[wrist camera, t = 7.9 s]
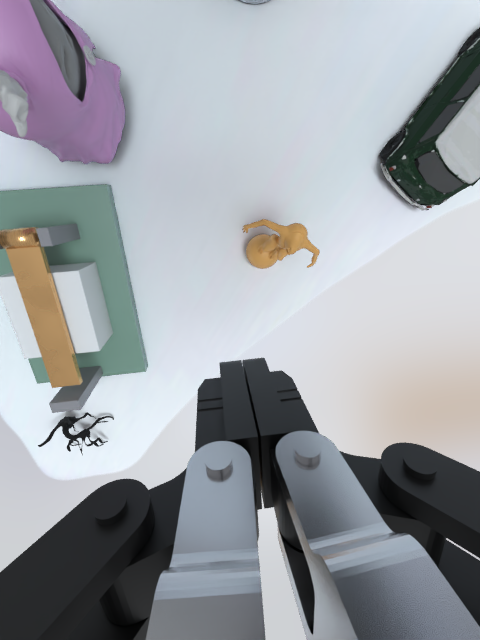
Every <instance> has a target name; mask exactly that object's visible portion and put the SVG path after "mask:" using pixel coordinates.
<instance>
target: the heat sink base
mask: <svg viewBox="0 0 480 640" xmlns="http://www.w3.org/2000/svg"><path fill="white" fill-rule="evenodd" d="M30 227H38V228H37V229H36V231H37V234H38V237H39V241H40V244H41V247H44V250H45V254H46V257H47V260H48V264H49V267H50V271H51V274H52V278H53V281H54V284H55V288H56V291H57V295H58V298H59V301H60V305H61V308H62V312H63V315H64V319H65V322H66V325H67V329H68V332H69V336H70V339H71V343H72V346H73V349H74V353H75V356H76V360H77V363H78V367H79V370H80V373H81V377H82V380H83V382H82V383H81V384H80V385H73V386H64V387H62V388H61V389H60V391H59V392H58V393H57V395H56V396H55V397H54V398H53V400H52V401H51V402H50V403H49V405H50V407H51V410H52V413H55V412H64V411H72V410H81V409H82V407H83V405H84V404H85V402H86V401H87V399H88V397H89V396H90V394H91V392H92V391H93V389H94V388H95V386H96V384H97V383H98V381H99V379H100V378H101V376H110V375H119V374H128V373H137V372H146V369H147V367H148V364H147V360H146V355H145V350H144V345H143V340H142V335H141V330H140V326H139V321H138V316H137V311H136V306H135V301H134V297H133V292H132V287H131V282H130V277H129V272H128V267H127V263H126V258H125V253H124V248H123V243H122V238H121V234H120V229H119V224H118V219H117V214H116V209H115V204H114V200H113V195H112V190H111V185H107V184H103V185H88V186H73V187H58V188H42V189H27V190H12V191H0V230H4V229H17V228H30ZM0 295H1V298H2V300H3V303H4V306H5V308H6V311H7V314H8V316H9V319H10V322H11V324H12V327H13V330H14V332H15V335H16V338H17V340H18V343H19V346H20V348H21V351H22V354H23V356H24V359H28V360H29V362H30V365H31V368H32V370H33V373H34V376H35V378H36V381H37V383H46V382H50V380H49V377H48V374H47V371H46V368H45V365H44V362H43V359H42V356H41V353H40V350H39V347H38V344H37V341H36V338H35V335H34V332H33V329H32V326H31V323H30V320H29V317H28V314H27V311H26V308H25V305H24V302H23V299H22V296H21V293H20V290H19V288H18V285H17V282H16V279H15V276H14V273H13V270H12V267H11V264H10V261H9V258H8V255H7V252H6V249H4V248H3V247H2V246H1V245H0Z"/></svg>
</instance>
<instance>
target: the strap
mask: <svg viewBox="0 0 480 640" xmlns="http://www.w3.org/2000/svg"><path fill="white" fill-rule="evenodd" d="M37 228H38V227H30V228H17V229H4V230H0V245H1V246H2V247H3V248H4V249H6V252H7V255H8V258H9V261H10V264H11V267H12V270H13V273H14V276H15V279H16V282H17V285H18V288H19V290H20V293H21V296H22V299H23V302H24V305H25V308H26V311H27V314H28V317H29V320H30V323H31V326H32V329H33V332H34V335H35V338H36V341H37V344H38V347H39V350H40V353H41V356H42V359H43V362H44V365H45V368H46V371H47V374H48V377H49V380H50V383H51V386H52V388H55V387H64V386H73V385H80V384H81V383H82V382H83V380H82V377H81V373H80V370H79V367H78V363H77V360H76V356H75V353H74V349H73V346H72V343H71V339H70V336H69V332H68V329H67V325H66V322H65V319H64V315H63V312H62V308H61V305H60V301H59V298H58V295H57V291H56V288H55V284H54V281H53V278H52V274H51V271H50V267H49V264H48V260H47V257H46V254H45V250H44V247H41V244H40V241H39V237H38V234H37V231H36V229H37Z"/></svg>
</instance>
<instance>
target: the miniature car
mask: <svg viewBox="0 0 480 640" xmlns="http://www.w3.org/2000/svg"><path fill="white" fill-rule="evenodd" d="M458 54H459V55H460V56H459V58H458V59H457V60H456V61H455V63H454V64H453V65H452V67H451V68H450V69H449V71H448V72H447V73H446V75H445V76H444V77H443V78H442V80H441V81H440V82H439V84H438V85H437V86H436V88H435V89H434V90H433V92H432V93H431V94H430V96H429V97H428V98H427V99H426V101H425V102H424V103H423V105H422V106H421V107H420V109H419V110H418V111H417V113H416V114H415V115H414V116H413V118H412V119H411V120H410V122H409V123H408V124H407V126H406V127H405V130H406V134H405V133H404V132H402V133H399V134H397V135H396V136H394V137H393V138H392V139H391V140H390V141H389V142H388V143H387V144H386V145H385V147H384V148H383V150H382V151H381V153H380V155H381V157H382V158H383V159H384V160H385V162H386V164H385V165H384V163H381V168H382V170H383V173H384V175H385V177H386V179H387V181H389V182H390V183H391V184H392V186H393V187H394V188H395V189H396V190H397V192H398V193H399V194H400V195H401V196H402V197H403V198H404V199H406V200H407V201H408V202H409V203H410V204H412V205H415V206H416V207H418V208H419V209H421V210H429V209H427V208H432V207H431V206H434V205H440V204H441V203H443V202H445V201H447V199H448V198H450V197H451V196H453V195H455V194H456V193H458V192H459V191H461V190H463V189H465V188H467V187H468V186H470V185H471V186H473V185H474V184H475V183H476V182H477V181H478V180H479V179H480V28H479V29H477V30H476V31H475V32H474V33H473V34H472V35H471V36H470V37H469V38H468V39H467V41H466V42H465V43H464V45H463V46H462V48H461V49H460V51H459V53H458ZM382 164H383V165H382ZM391 177H392V178H393V179H394V181H395V182H396V183H397V184H398V185H399V186H400V187H401V188H402V189H403V191H404V192H405V193H406V194H407V195H408V196H409V197H411V198H412V199H413V200H415V201H416V202H417V203H418V204H420V205H425V206H426V208H423V207H422V206H420V205H418V204H417V203H415V202H413V201H412V200H411V199H410V198H408V197H407V196H406V195H405V194H404V193H403V192H402V190H401V189H400V188H399V187H398V186H397V185H396V184H395V183H394V181H393V180H392V178H391Z"/></svg>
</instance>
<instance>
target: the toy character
mask: <svg viewBox="0 0 480 640" xmlns="http://www.w3.org/2000/svg"><path fill="white" fill-rule="evenodd" d="M93 48H94V49H95V46H94V45H93V43H92V42H91V41H90V38H89V37H88V35H87V34H86V33H85V32H84V31H83V29H82V28H81V27H79V26H78V25H77V24H76V23H75V22H73V21H72V20H71V19H69V18H68V17H67V16H65V15H64V14H63V13H62V12H61V11H60V10H59V9H58V8H57V7H56V6H55V4H54V3H53V2H52V1H50V0H0V131H2V132H4V133H6V134H8V135H11V136H14V137H17V138H22V139H27V140H32V141H35V142H37V143H38V144H40V145H42V146H43V147H45V148H47V149H49V150H50V151H51V152H52V153H53V154H55V155H56V156H57V157H58V158H59V160H60V161H61V162H63V161H81V162H83V163H84V164H88V163H90V162H98V163H107V164H108V163H110V162H111V161H112V160H113V158H114V156H115V154H116V151H117V146H118V143H119V142H120V141H121V137H122V130H123V128H124V125H125V107H124V103H123V99H122V96H121V92H120V87H119V80H120V74H121V71H120V68H119V67H118V66H117V65H116V64H113V63H111V62H108V61H105V60H102V59H99V58H97V57H96V56H95V54H94V53H93V52H92V51H93Z"/></svg>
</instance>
